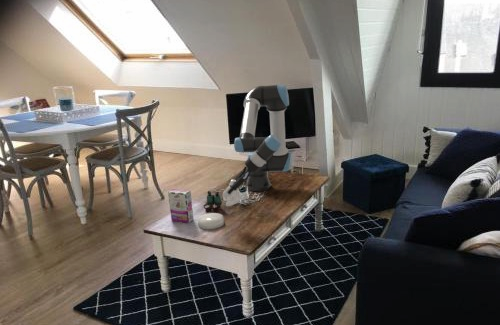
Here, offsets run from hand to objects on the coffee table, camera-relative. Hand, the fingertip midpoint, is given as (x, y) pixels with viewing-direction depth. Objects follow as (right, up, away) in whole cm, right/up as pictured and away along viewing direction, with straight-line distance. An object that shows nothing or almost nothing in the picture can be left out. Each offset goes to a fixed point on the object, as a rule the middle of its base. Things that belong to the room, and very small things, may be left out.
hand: (224, 195), depth 201 cm
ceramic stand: (-7, -15, +6) cm, 18 cm away
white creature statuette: (+4, -4, +1) cm, 6 cm away
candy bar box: (-23, -14, +12) cm, 30 cm away
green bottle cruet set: (-8, -10, +22) cm, 25 cm away
